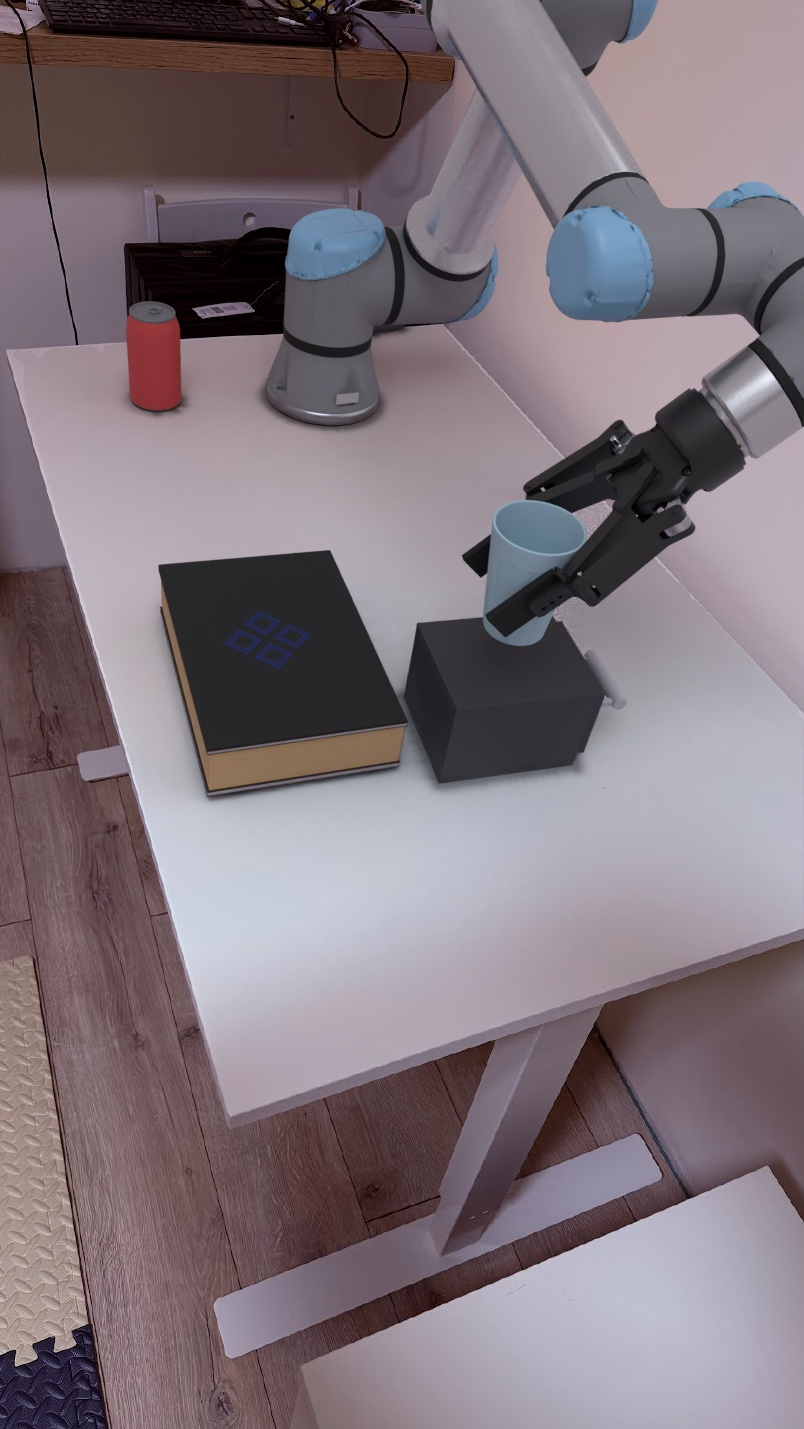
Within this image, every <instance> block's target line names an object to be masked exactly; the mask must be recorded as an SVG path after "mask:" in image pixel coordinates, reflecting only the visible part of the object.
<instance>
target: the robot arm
mask: <svg viewBox="0 0 804 1429" xmlns="http://www.w3.org/2000/svg"><path fill="white" fill-rule="evenodd" d="M419 2H420V6H421V8H422V12H423V14H424V18H425V20H426V23H427V25H428V27H429V29H430V30H431V32H432V34H433V36H434V38H435V40H436V42H437V43H438V45H439V47H440V48H441V49H442V51H444V52H445V53H446V54H447V55H449V56H450V57H451V58H454V59H455V60H458V61H462V64H463V66H464V67H465V69H466V71H467V73H468V74H469V76H470V78H471V80H472V82H473V84H474V85H475V89H474V91H473V93H472V96H471V98H470V100H469V102H468V104H467V107H466V110H465V112H464V114H463V116H462V119H461V121H460V124H459V126H458V128H457V131H456V133H455V135H454V137H453V140H452V143H451V144H450V147H449V149H448V151H447V154H446V157H445V159H444V161H443V163H442V166H441V168H440V170H439V173H438V175H437V177H436V180H435V182H434V183H433V187H432V189H431V191H430V193H429V195H426V196H424V197H421V198H419V199H418V200H416V201H415V202H414V203H413V205H411V207H410V209H409V211H408V213H407V215H406V218H405V220H404V223H403V225H400V226H399V225H395V226H390V225H389V226H385V225H384V223H383V221H382V219H380V218H379V216H377V215H376V214H373V213H372V212H369V211H366V210H361V209H357V210H352V209H351V208H348V207H347V208H345V207H344V208H343V207H341V208H340V207H338V208H327V209H322V210H317V211H314V212H311V213H309V214H307V215H305V216H303V217H301V218H300V219H299V220H298V221H297V222H296V223H295V224H294V225H293V226H292V228H291V230H290V233H289V237H288V246H287V254H286V256H285V260H284V268H285V287H284V288H285V289H284V290H285V292H284V307H283V308H284V310H283V330H282V331H283V332H282V339H281V342H280V345H279V347H278V349H277V353H276V355H275V357H274V360H273V362H272V365H271V368H270V370H269V372H268V376H267V380H266V397H267V399H268V401H269V403H270V404H271V405H272V406H273V407H274V408H275V409H276V410H278V411H279V412H280V413H282V414H284V415H286V416H288V417H290V418H292V419H295V420H297V421H301V422H305V423H309V424H312V425H313V424H314V425H322V426H343V425H344V426H345V425H350V424H355V423H358V422H361V421H364V420H366V419H368V418H369V417H371V416H372V415H373V414H374V413H375V412H376V410H377V409H378V405H379V397H380V389H379V388H380V387H379V383H378V378H377V373H376V369H375V368H376V367H375V363H374V359H373V358H374V357H373V353H372V341H373V334H377V333H383V332H390V331H395V330H399V329H401V328H403V327H405V326H407V325H419V324H420V325H422V324H423V325H425V324H426V325H427V324H444V325H445V324H454V323H457V322H460V321H468V320H472V319H474V318H476V317H477V316H479V315H480V314H481V313H482V312H483V311H484V310H485V309H486V307H488V305H489V303H490V301H491V300H492V297H493V295H494V292H495V290H496V285H497V282H496V279H495V278H496V276H498V274H499V253H498V252H499V251H498V249H497V245H496V242H495V236H494V233H493V230H494V228H495V226H496V225H497V221H498V220H499V218H500V216H501V214H502V212H503V210H504V209H505V208H506V205H507V203H508V201H509V199H510V197H511V195H512V194H513V192H514V190H515V188H516V186H517V184H518V182H519V180H520V179H521V177H522V174H523V175H524V178H525V179H526V181H527V183H528V185H529V186H530V188H531V190H532V192H533V193H534V195H535V197H536V199H537V201H538V203H539V205H540V207H541V208H542V211H543V213H544V214H545V216H546V218H547V219H548V221H549V223H550V225H551V227H552V229H553V232H552V234H551V236H550V239H549V242H548V246H547V251H546V260H545V274H546V277H548V278H549V286H548V288H549V289H548V291H549V295H550V298H551V300H552V302H553V303H554V305H555V307H556V308H557V310H558V311H560V312H561V313H562V314H563V315H564V316H566V317H568V318H569V319H571V320H572V319H573V320H576V321H595V322H596V321H598V322H603V323H621V322H628V321H637V320H638V321H639V320H649V319H650V320H651V319H667V318H678V317H679V318H680V317H682V318H683V317H691V318H692V317H708V316H711V317H712V316H727V315H728V316H729V315H738V316H741V317H743V318H744V320H745V321H747V323H748V324H749V325H750V326H751V327H752V329H753V330H754V331H755V332H756V333H757V334H758V336H757V337H756V338H755V340H753V341H752V342H750V343H749V344H748V345H746V346H744V347H743V348H741V349H740V350H738V351H737V352H735V353H734V354H733V355H731V356H729V357H728V358H727V359H726V360H724V361H723V362H722V363H720V364H718V366H716V367H715V368H713V369H712V370H710V371H709V372H708V373H706V374H705V375H703V376H702V378H701V386H702V388H700V389H699V390H697V388H695V387H694V388H690V387H689V388H687V389H686V390H685V391H683V392H682V393H681V394H679V395H678V396H676V397H675V398H674V399H672V400H671V401H669V402H668V403H667V404H666V405H664V406H663V407H661V408H660V409H659V410H657V412H655V415H654V421H655V424H654V426H653V427H651V428H650V429H648V430H645V431H643V432H640V433H638V434H636V433H634V432H632V431H631V430H630V429H629V427H628V426H627V425H626V423H625V422H624V420H623V419H617V420H615V421H614V422H613V423H611V425H609V426H608V427H607V428H606V429H605V430H604V431H603V432H602V433H601V434H600V435H599V436H598V437H596V438H595V439H593V440H592V441H590V442H589V443H587V444H586V445H583V446H582V447H580V448H579V449H578V450H576V451H574V452H573V453H571V454H569V455H568V456H566V457H564V458H563V459H561V460H559V461H558V462H557V463H555V464H553V465H552V466H550V467H549V468H547V469H545V470H544V471H542V472H540V473H539V474H537V475H536V476H534V477H532V478H531V479H530V480H528V481H527V482H525V483H524V484H523V487H522V490H523V492H524V493H525V500H534V501H541V502H546V503H550V504H553V505H556V506H559V507H561V508H563V509H565V510H567V511H569V512H570V513H572V514H573V513H576V512H578V511H581V510H584V509H586V508H589V507H591V506H594V505H596V504H599V503H601V502H604V501H607V500H610V501H613V503H612V508H611V509H612V510H611V512H610V513H609V514H608V515H607V516H606V518H605V519H604V520H603V521H602V522H601V523H600V525H599V526H598V527H597V528H595V530H594V531H593V533H591V535H590V536H589V537H588V538H587V540H586V542H585V543H584V544H583V545H582V547H581V548H580V549H579V550H578V551H577V552H576V554H575V555H574V556H573V557H572V558H571V559H570V560H569V562H568V563H567V564H566V565H565V566H564V567H563V569H560V568H559V567H557V566H555V567H554V570H553V569H552V568H551V569H550V570H548V571H547V572H545V573H543V574H542V575H540V576H539V577H538V578H536V579H535V580H533V581H532V582H531V583H529V584H528V585H526V586H525V587H523V588H522V589H521V590H519V591H518V592H516V593H515V594H514V595H512V596H511V597H509V598H508V599H506V600H505V601H504V602H502V603H501V604H499V605H498V606H497V607H495V608H494V609H492V610H491V611H489V612H488V613H487V614H485V616H486V618H487V621H489V622H490V623H491V624H492V625H493V626H494V627H495V628H496V629H497V630H498V631H499V632H500V633H501V634H502V635H503V636H504V637H505V638H506V637H507V636H509V635H510V634H512V633H513V632H514V631H516V630H517V629H519V628H520V627H522V626H523V625H525V624H526V623H527V622H529V621H530V620H532V619H533V618H535V617H536V616H537V617H538V618H540V617H543V616H545V615H547V614H548V613H550V611H552V610H554V609H555V608H556V609H557V608H559V607H560V606H562V605H563V604H565V603H566V602H567V601H568V600H570V599H573V598H578V599H580V600H581V601H582V602H584V603H586V605H587V606H588V607H596V606H598V605H599V604H600V603H602V602H603V601H604V600H605V599H606V598H608V596H610V595H611V594H612V593H613V592H615V591H616V590H617V589H618V588H619V587H621V586H622V585H623V584H624V583H626V582H627V581H628V580H629V579H630V578H632V577H633V576H634V575H636V573H638V572H639V571H640V570H642V568H644V567H645V566H646V565H648V563H650V562H651V561H652V560H654V559H655V558H656V557H657V556H658V555H660V554H661V553H662V552H664V550H666V549H667V548H668V547H669V546H672V545H674V544H676V543H677V542H679V541H682V540H683V539H685V538H687V537H690V536H691V535H693V534H694V532H695V531H696V525H695V523H694V522H693V521H692V519H691V518H690V516H689V514H688V511H687V508H686V505H687V504H688V503H689V501H690V499H691V498H692V497H693V496H694V495H695V494H696V493H697V492H698V491H700V490H701V491H704V492H707V493H711V492H713V491H715V490H716V489H717V488H719V487H720V486H722V485H723V484H725V483H726V482H727V481H729V480H731V479H733V478H734V477H735V476H737V475H738V474H739V473H741V472H742V471H743V470H745V466H746V465H747V462H746V458H748V457H750V458H753V459H756V460H758V459H760V458H762V457H763V456H764V455H766V454H767V453H769V452H770V451H771V450H773V449H775V448H776V447H777V446H779V445H780V444H782V443H783V442H784V441H786V440H788V439H789V438H790V437H792V436H793V435H795V434H796V433H797V432H799V431H801V430H802V429H803V428H804V214H803V213H802V211H801V210H800V209H799V207H798V206H797V205H796V204H795V203H792V202H791V201H790V199H789V198H787V197H784V196H783V195H781V194H780V193H779V192H778V191H777V190H776V189H774V188H773V187H772V186H771V185H769V184H767V183H764V182H761V181H747V182H742V183H740V184H739V185H737V187H735V188H733V189H731V190H726V191H723V192H722V193H720V195H718V196H717V197H716V198H715V199H713V201H711V203H710V204H709V205H708V206H707V207H706V208H702V207H698V208H697V207H693V208H692V207H668V206H665V205H664V204H663V203H662V202H661V200H660V198H659V196H658V195H657V192H655V189H654V188H653V186H651V184H650V183H649V181H648V179H647V177H646V175H645V174H644V172H643V171H642V169H641V167H640V166H639V164H638V163H637V161H636V159H635V157H634V156H633V154H632V152H631V150H630V149H629V148H628V146H627V144H626V142H625V140H624V139H623V138H622V135H621V134H620V133H619V131H618V129H617V127H616V126H615V124H614V122H613V121H612V118H611V117H610V115H609V113H608V112H607V111H606V108H604V105H603V103H602V102H601V100H600V99H599V97H598V95H597V94H596V92H595V91H594V89H593V87H592V85H591V84H590V82H589V81H588V77H589V76H590V75H591V74H592V73H593V71H594V70H595V69H596V67H597V65H598V64H599V61H600V59H601V58H602V56H603V54H604V52H605V50H606V49H607V47H608V45H609V44H610V43H611V42H614V43H617V44H620V45H621V44H626V43H627V42H628V41H633V40H636V39H637V38H638V37H640V36H641V35H642V33H643V32H644V31H646V29H647V28H648V26H649V24H650V22H651V21H652V18H653V16H654V14H655V11H656V8H657V5H658V2H659V0H419ZM542 489H544V490H542ZM490 542H491V533H490V534H488V535H487V536H485V538H483V539H481V540H480V541H479V542H477V543H476V544H475V545H474V546H472V547H470V548H469V549H468V550H466V551H465V552H463V554H462V555H461V558H462V560H463V562H464V563H465V564H466V565H467V566H468V567H469V568H470V569H471V570H472V571H473V572H474V573H475V575H477V576H478V577H479V578H480V579H482V578H483V577H485V576H487V571H488V561H489V552H490ZM579 573H580V575H579ZM556 609H555V610H556Z"/></svg>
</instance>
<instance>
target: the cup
mask: <svg viewBox="0 0 804 1429" xmlns="http://www.w3.org/2000/svg"><path fill="white" fill-rule="evenodd" d="M491 521H492V523H491V533H490V534H491V542H490V552H489V561H488V571H487V574H486V582H485V591H484V592H485V593H484V602H483V610H482V611H483V613H482V617H483V624H484V627H485V629H486V631H487V632H488V633H489V634H490V635H491V636H492V637H493V638H495V639H497V640H498V641H501V642H503V643H506V644H509V645H514V646H527V645H531V644H534V643H536V642H538V641H539V640H540V639H541V638H542V637H543V635H544V633H545V631H546V629H547V626H548V624H549V622H550V620H551V617H552V615H553V616H554V613H555V611H556V609H557V608H555V609H554V610H552V611H550V613H548V614H547V615H545V616H543V617H540V618H538V617H537V616H536V617H535V618H533V619H532V620H530V621H529V622H527V623H526V624H525V625H523V626H522V627H520V628H519V629H517V630H516V631H514V632H513V633H512V634H510V635H509V636H507V637H506V638H505V637H504V636H503V635H502V634H501V633H500V632H499V631H498V630H497V629H496V628H495V627H494V626H493V625H492V624H491V623H490V622H489V621H487V618H486V616H485V614H487V613H488V612H489V611H491V610H492V609H494V608H495V607H497V606H498V605H499V604H501V603H502V602H504V601H505V600H506V599H508V598H509V597H511V596H512V595H514V594H515V593H516V592H518V591H519V590H521V589H522V588H523V587H525V586H526V585H528V584H529V583H531V582H532V581H533V580H535V579H536V578H538V577H539V576H540V575H542V574H543V573H545V572H547V571H548V570H550V569H551V568H552V569H553V570H554V567H555V566H557V567H559V568H560V569H563V567H564V566H565V565H566V564H567V563H568V562H569V560H570V559H571V558H572V557H573V556H574V555H575V554H576V552H577V551H578V550H579V549H580V548H581V547H582V545H583V544H584V543H585V542H586V541H587V540H588V533H587V532H588V531H587V529H586V527H585V525H584V523H583V522H582V521H581V520H580V519H579V518H578V517H577V516H576V515H575V514H573V513H570V512H569V511H567V510H565V509H563V508H561V507H559V506H556V505H553V504H550V503H546V502H541V501H534V500H526V499H522V500H513V501H510V502H507V503H504V504H503V505H501V506H499V507H498V508H497V509H496V510H495V511H494V513H493V516H492V520H491Z"/></svg>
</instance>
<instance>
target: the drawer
mask: <svg viewBox="0 0 804 1429" xmlns="http://www.w3.org/2000/svg"><path fill="white" fill-rule="evenodd" d="M556 622H557V623H558V625H559V627H560V628H561V630H562V632H563V633H564V635H565V637H566V638H567V640H568V642H569V644H570V645H571V647H572V649H573V650H574V652H575V654H576V655H577V657H578V659H579V660H580V662H581V664H582V665H583V667H584V669H585V670H586V672H587V674H588V675H589V677H590V679H591V680H592V682H593V684H594V685H595V687H596V689H597V690H598V692H599V695H598V698H597V700H596V703H595V706H594V708H593V711H592V714H591V717H590V719H589V722H588V725H587V727H586V730H585V733H584V735H583V738H582V741H581V744H580V746H579V749H578V752H577V754H582V753H585V750H586V748H587V745H588V743H589V740H590V738H591V734H592V731H593V729H594V726H595V724H596V722H597V718H598V716H599V714H600V711H601V708H606V707H612V709H614V710H618V711H619V710H621V709H623V708H624V707H625V706H626V705H627V699H626V698H625V696H624V694H623V693H622V691H621V689H620V688H619V686H618V685H617V683H616V681H615V680H614V678H613V677H612V675H611V673H610V672H609V670H608V669H607V667H606V666H605V664H604V662H603V661H602V659H601V657H600V655H599V654H598V652H597V650H594V649H590V650H588V651H586V652H585V653H584V654H582V652H581V650H580V649H579V647H578V645H577V644H576V642H575V640H574V639H573V636H572V635H571V634H570V632H569V630H568V629H567V627H566V626H565V623H563V620H559V621H557V620H556Z"/></svg>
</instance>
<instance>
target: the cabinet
mask: <svg viewBox="0 0 804 1429" xmlns="http://www.w3.org/2000/svg"><path fill="white" fill-rule="evenodd" d="M598 695H599V692H598V690H597V689H596V687H595V685H594V684H593V682H592V680H591V679H590V677H589V675H588V674H587V672H586V670H585V669H584V667H583V665H582V664H581V662H580V660H579V659H578V657H577V655H576V654H575V652H574V650H573V649H572V647H571V645H570V644H569V642H568V640H567V638H566V637H565V635H564V633H563V632H562V630H561V628H560V627H559V625H558V623H557V620H556V618H555V617H554V614H553V615H552V617H551V620H550V622H549V624H548V626H547V629H546V631H545V633H544V635H543V637H542V638H541V639H540V640H539V641H538V642H536V643H534V644H531V645H527V646H514V645H509V644H506V643H503V642H501V641H498V640H497V639H495V638H493V637H492V636H491V635H490V634H489V633H488V632H487V631H486V629H485V627H484V624H483V616H480V617H469V618H458V619H456V618H455V619H445V620H435V621H424V622H423V621H422V622H417V623H416V627H415V633H414V639H413V644H412V650H411V655H410V660H409V664H408V671H407V676H406V681H405V687H404V692H403V699H404V702H405V704H406V706H407V709H408V711H409V713H410V716H411V719H412V721H413V723H414V725H415V729H416V731H417V733H418V736H419V738H420V740H421V742H422V746H423V747H424V750H425V752H426V755H427V758H428V760H429V763H430V765H431V767H432V769H433V772H434V774H435V776H436V779H437V781H438V784H444V783H451V782H459V781H465V780H473V779H480V778H487V777H495V776H502V775H509V774H510V775H511V774H516V773H523V772H531V771H539V770H545V769H553V768H561V767H567V766H574V763H575V760H576V757H577V755H578V753H577V752H578V749H579V746H580V744H581V741H582V738H583V735H584V733H585V730H586V727H587V725H588V722H589V719H590V717H591V714H592V711H593V708H594V706H595V703H596V700H597V698H598Z"/></svg>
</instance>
